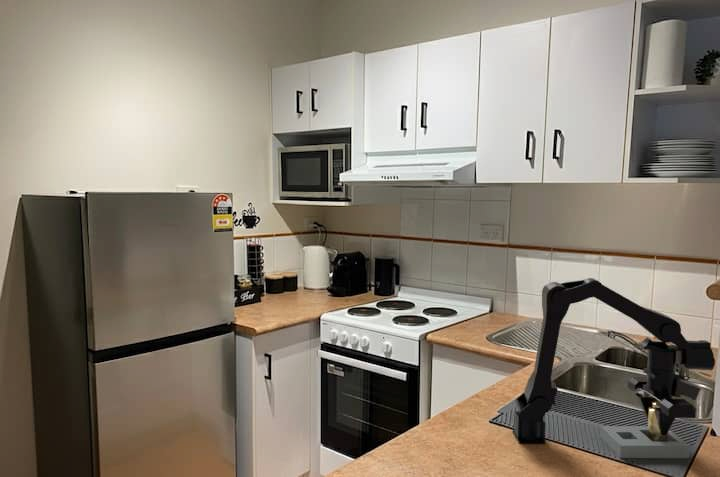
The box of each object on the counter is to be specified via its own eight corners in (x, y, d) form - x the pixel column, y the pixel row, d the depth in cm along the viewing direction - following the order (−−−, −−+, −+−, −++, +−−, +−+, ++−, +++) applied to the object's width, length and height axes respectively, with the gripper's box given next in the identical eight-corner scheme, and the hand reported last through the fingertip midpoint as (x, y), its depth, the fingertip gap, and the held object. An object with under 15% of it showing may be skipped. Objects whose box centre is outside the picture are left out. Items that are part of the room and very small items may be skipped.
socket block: (620, 458, 118) (620, 445, 118) (600, 437, 128) (600, 426, 128) (689, 458, 118) (690, 445, 118) (664, 437, 128) (664, 426, 128)
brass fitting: (653, 446, 121) (655, 407, 120) (643, 437, 125) (645, 399, 124) (672, 446, 121) (674, 407, 120) (661, 437, 125) (663, 399, 124)
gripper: (722, 381, 112) (718, 449, 113) (671, 355, 131) (668, 414, 132) (671, 381, 112) (668, 449, 113) (628, 355, 131) (625, 414, 132)
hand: (658, 430), depth 123 cm, fingers closed on brass fitting, 4 cm apart
